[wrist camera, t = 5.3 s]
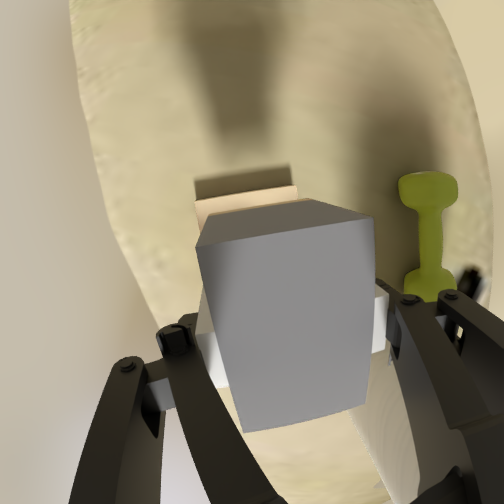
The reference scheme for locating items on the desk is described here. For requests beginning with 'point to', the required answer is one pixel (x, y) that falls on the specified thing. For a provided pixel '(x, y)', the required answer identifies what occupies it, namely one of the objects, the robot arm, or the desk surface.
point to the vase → (388, 430)
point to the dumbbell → (429, 230)
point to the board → (243, 201)
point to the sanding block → (291, 308)
